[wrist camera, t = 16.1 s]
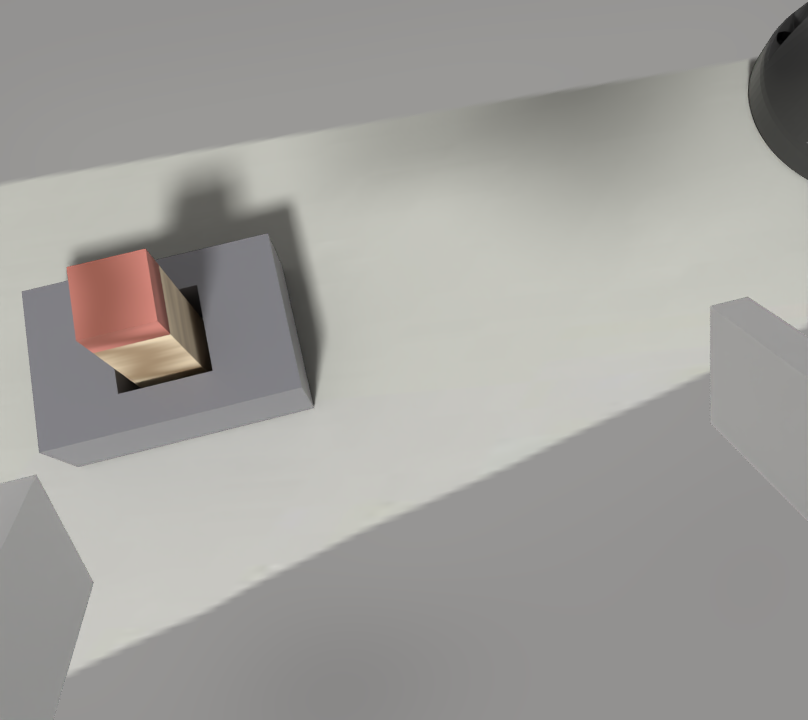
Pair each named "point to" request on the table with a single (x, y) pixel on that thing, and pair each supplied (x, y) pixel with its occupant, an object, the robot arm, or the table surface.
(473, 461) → the table surface
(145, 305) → the plug peg
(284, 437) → the table surface
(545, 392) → the table surface
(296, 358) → the socket block
